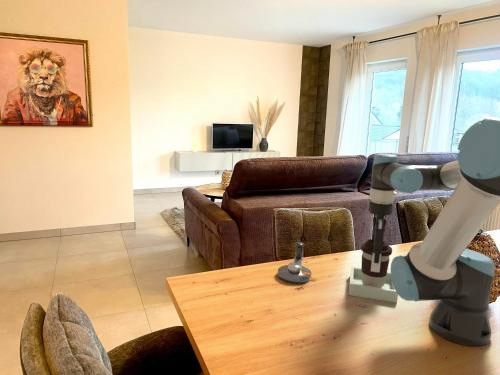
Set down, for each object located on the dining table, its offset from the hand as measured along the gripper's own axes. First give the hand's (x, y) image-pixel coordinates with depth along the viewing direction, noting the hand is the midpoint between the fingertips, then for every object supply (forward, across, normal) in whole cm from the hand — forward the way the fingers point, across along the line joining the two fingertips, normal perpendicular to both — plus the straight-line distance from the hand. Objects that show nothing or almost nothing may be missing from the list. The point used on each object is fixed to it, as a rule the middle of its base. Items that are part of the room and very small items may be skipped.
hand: (374, 265), depth 127 cm
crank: (+6, +4, +27) cm, 28 cm away
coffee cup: (+7, 0, 0) cm, 7 cm away
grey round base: (+9, 0, +27) cm, 28 cm away
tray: (+9, 0, 0) cm, 9 cm away
